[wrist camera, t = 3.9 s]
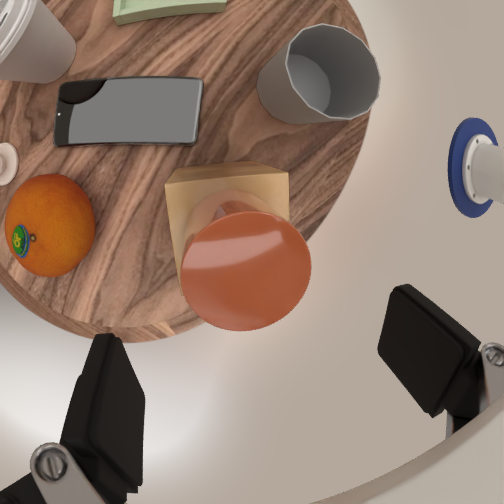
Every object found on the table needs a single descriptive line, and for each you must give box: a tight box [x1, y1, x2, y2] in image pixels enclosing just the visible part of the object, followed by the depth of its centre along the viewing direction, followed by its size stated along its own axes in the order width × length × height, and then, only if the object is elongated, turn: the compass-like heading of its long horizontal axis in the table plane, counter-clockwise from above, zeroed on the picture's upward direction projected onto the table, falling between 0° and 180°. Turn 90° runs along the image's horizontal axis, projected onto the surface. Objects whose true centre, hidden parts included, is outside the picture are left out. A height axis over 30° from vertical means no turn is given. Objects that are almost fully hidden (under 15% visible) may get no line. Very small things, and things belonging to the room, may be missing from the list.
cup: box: [256, 24, 381, 124], centre depth 22 cm, size 8×8×10 cm
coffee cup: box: [0, 0, 76, 84], centre depth 12 cm, size 10×10×15 cm
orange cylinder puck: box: [180, 189, 311, 331], centre depth 16 cm, size 6×6×6 cm
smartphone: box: [53, 76, 204, 147], centre depth 24 cm, size 7×1×16 cm
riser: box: [164, 161, 289, 296], centre depth 24 cm, size 8×8×12 cm
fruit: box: [5, 174, 95, 277], centre depth 23 cm, size 11×10×8 cm
